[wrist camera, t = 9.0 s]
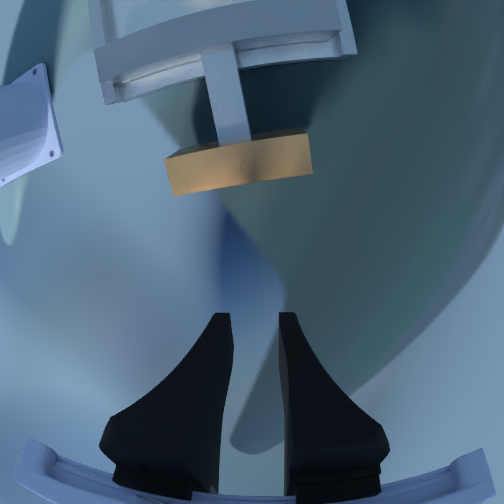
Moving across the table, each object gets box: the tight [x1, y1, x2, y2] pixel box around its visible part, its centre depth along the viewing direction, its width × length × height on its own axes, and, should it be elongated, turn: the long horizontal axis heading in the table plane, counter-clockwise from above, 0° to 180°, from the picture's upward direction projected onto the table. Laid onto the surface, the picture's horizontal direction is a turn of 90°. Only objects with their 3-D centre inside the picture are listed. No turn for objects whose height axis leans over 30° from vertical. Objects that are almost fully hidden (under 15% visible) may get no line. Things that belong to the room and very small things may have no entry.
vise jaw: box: [94, 0, 343, 197], centre depth 13 cm, size 12×9×3 cm
